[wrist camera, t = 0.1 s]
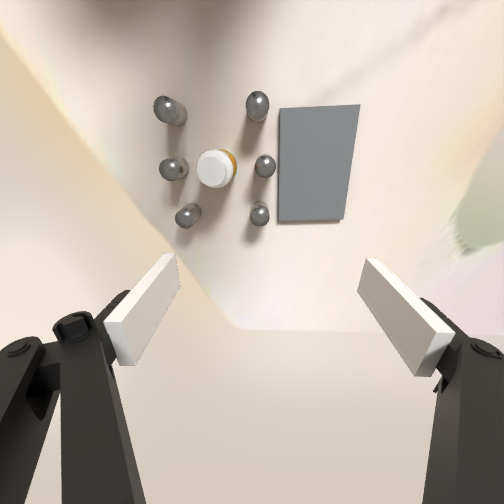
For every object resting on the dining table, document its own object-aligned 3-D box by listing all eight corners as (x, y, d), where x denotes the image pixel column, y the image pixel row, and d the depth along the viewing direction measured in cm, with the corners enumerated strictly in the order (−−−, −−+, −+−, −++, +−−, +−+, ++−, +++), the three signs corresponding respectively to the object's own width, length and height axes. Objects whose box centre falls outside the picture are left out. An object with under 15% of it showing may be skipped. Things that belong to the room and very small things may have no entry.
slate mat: (280, 109, 35) (280, 108, 34) (357, 105, 34) (360, 104, 33) (278, 219, 42) (278, 221, 42) (341, 217, 42) (343, 219, 41)
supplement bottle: (231, 186, 40) (224, 197, 31) (203, 175, 39) (187, 184, 31) (241, 155, 38) (235, 158, 29) (211, 144, 37) (196, 143, 28)
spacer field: (159, 103, 35) (144, 96, 30) (274, 97, 34) (276, 90, 29) (180, 220, 43) (171, 228, 39) (273, 217, 42) (275, 226, 38)
